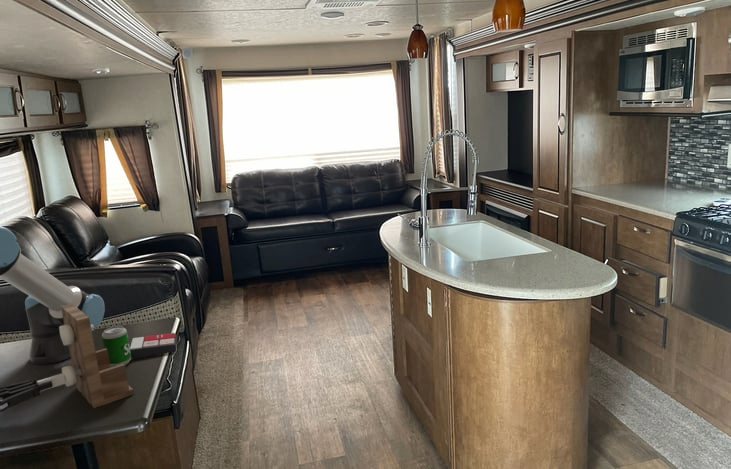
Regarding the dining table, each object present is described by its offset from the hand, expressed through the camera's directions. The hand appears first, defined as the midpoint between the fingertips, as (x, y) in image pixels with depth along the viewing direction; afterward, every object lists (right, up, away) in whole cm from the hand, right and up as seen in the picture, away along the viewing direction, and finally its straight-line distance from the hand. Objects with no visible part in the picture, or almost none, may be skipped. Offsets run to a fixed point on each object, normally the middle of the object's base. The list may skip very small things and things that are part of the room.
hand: (64, 378), depth 161 cm
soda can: (+4, -2, +27) cm, 27 cm away
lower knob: (+3, -2, +4) cm, 5 cm away
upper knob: (+4, +10, +2) cm, 11 cm away
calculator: (+12, 0, +37) cm, 39 cm away
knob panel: (+8, -6, +8) cm, 13 cm away
